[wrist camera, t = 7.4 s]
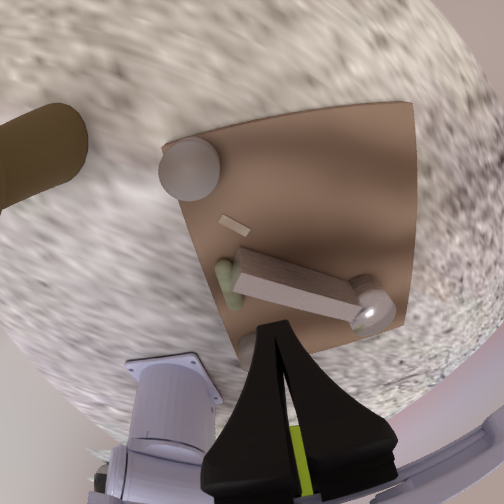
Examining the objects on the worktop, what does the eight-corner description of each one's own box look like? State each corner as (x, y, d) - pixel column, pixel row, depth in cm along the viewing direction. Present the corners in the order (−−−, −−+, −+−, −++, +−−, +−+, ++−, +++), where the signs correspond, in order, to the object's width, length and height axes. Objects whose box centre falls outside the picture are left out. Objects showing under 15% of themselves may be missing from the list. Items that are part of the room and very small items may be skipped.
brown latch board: (397, 315, 26) (412, 339, 23) (240, 356, 27) (242, 386, 24) (400, 100, 16) (430, 104, 13) (164, 142, 17) (150, 152, 14)
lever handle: (388, 281, 21) (404, 305, 19) (364, 314, 23) (377, 339, 20) (245, 231, 18) (249, 256, 16) (225, 276, 20) (226, 305, 17)
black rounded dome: (145, 476, 50) (142, 529, 37) (108, 471, 49) (102, 520, 36) (129, 464, 45) (124, 523, 31) (89, 457, 44) (80, 512, 31)
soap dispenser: (262, 442, 38) (277, 553, 21) (282, 424, 35) (304, 551, 18) (294, 443, 40) (313, 547, 23) (317, 425, 37) (343, 541, 20)
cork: (84, 93, 14) (-40, 112, 5) (94, 179, 17) (-5, 265, 8) (19, 114, 14) (-95, 155, 4) (31, 190, 17) (-65, 267, 7)
